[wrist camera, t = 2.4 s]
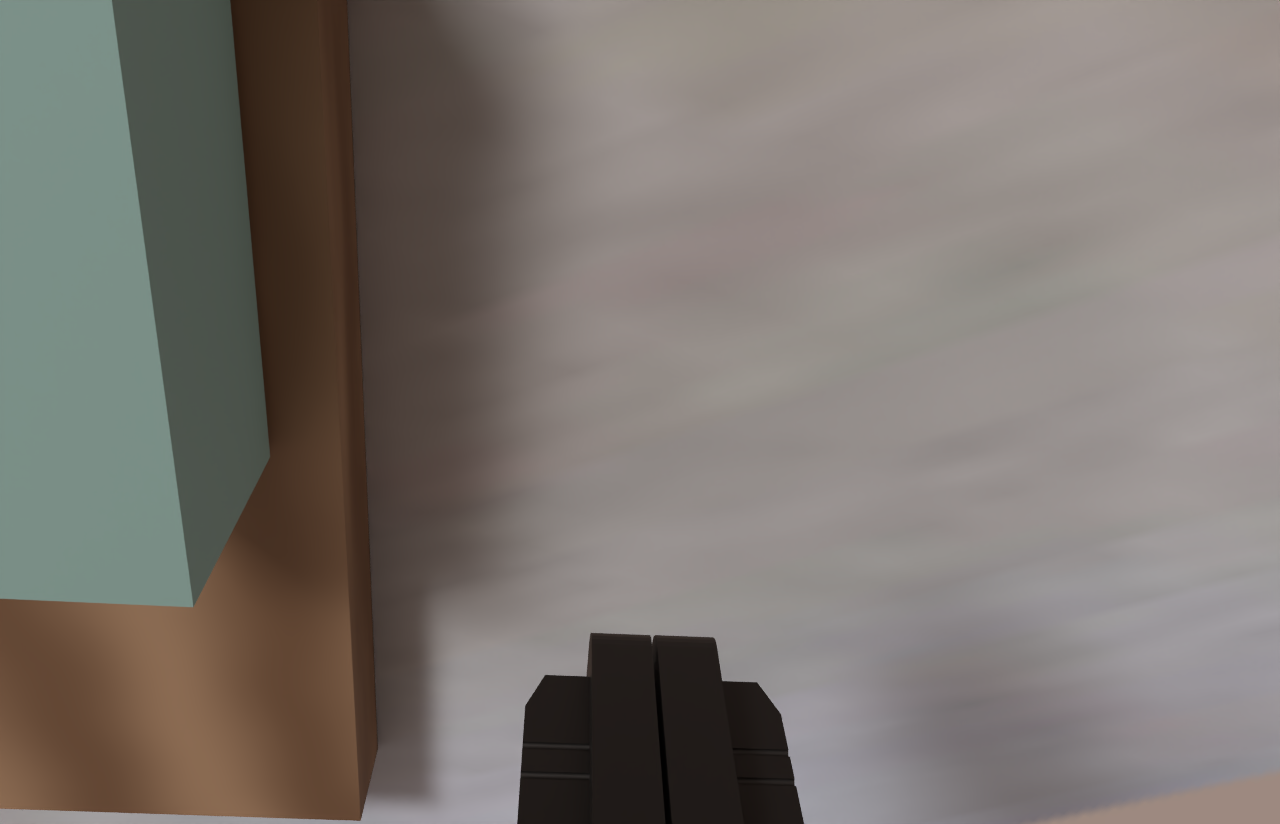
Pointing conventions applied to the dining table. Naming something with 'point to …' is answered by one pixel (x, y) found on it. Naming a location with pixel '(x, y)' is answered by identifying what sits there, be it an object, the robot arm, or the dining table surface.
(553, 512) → the dining table surface
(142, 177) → the hinged leg
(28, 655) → the board
